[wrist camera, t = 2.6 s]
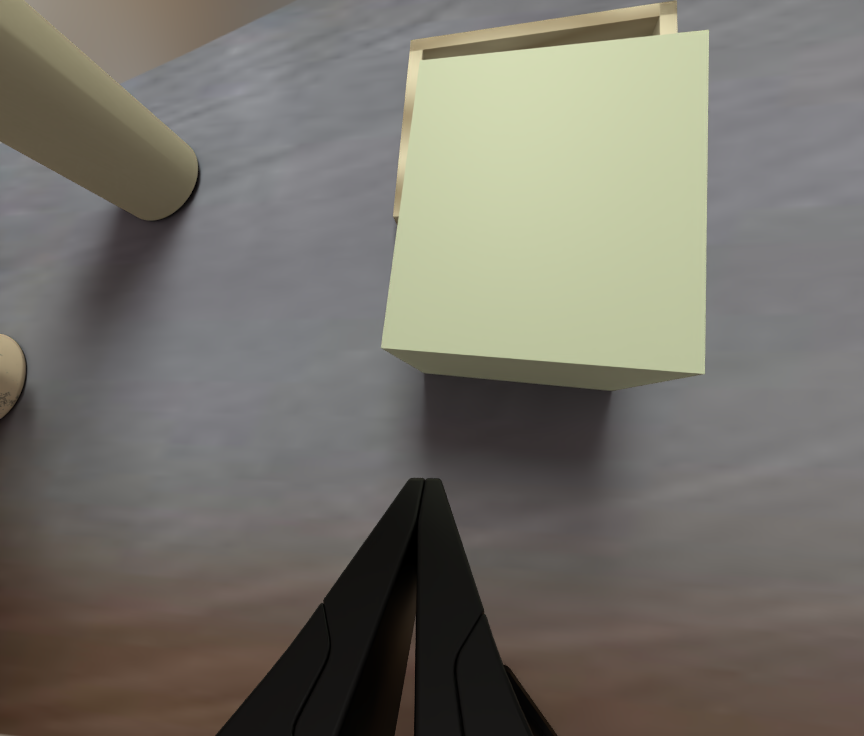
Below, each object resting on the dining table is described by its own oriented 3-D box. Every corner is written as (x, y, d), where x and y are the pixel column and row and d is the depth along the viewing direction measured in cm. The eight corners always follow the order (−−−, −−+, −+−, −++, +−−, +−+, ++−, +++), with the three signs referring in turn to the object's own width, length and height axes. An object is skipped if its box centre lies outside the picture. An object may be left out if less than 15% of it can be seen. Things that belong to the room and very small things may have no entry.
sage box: (611, 391, 20) (704, 373, 11) (424, 373, 22) (381, 347, 14) (620, 185, 22) (708, 29, 13) (446, 189, 24) (419, 60, 15)
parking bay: (667, 219, 20) (680, 205, 19) (399, 228, 24) (393, 216, 22) (664, 27, 22) (676, 0, 21) (415, 61, 26) (410, 40, 24)
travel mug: (213, 190, 28) (-261, -188, 10) (142, 239, 29) (-412, -37, 11) (185, 127, 30) (-264, -291, 12) (119, 174, 30) (-394, -154, 13)
